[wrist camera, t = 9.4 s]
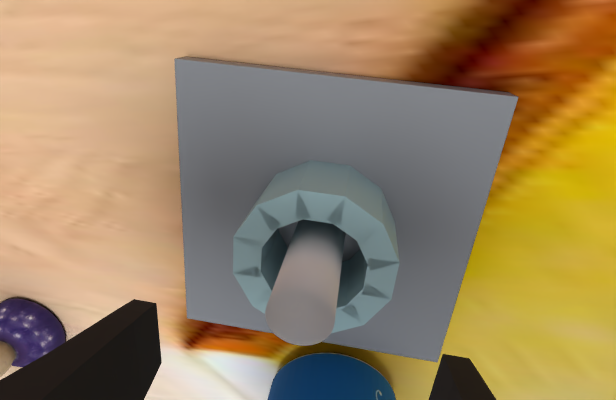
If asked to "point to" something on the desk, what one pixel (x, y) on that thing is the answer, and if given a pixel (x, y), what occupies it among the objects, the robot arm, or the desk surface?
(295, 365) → the beverage can
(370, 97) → the post base
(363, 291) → the flange ring
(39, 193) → the desk surface
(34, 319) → the toy lamp
